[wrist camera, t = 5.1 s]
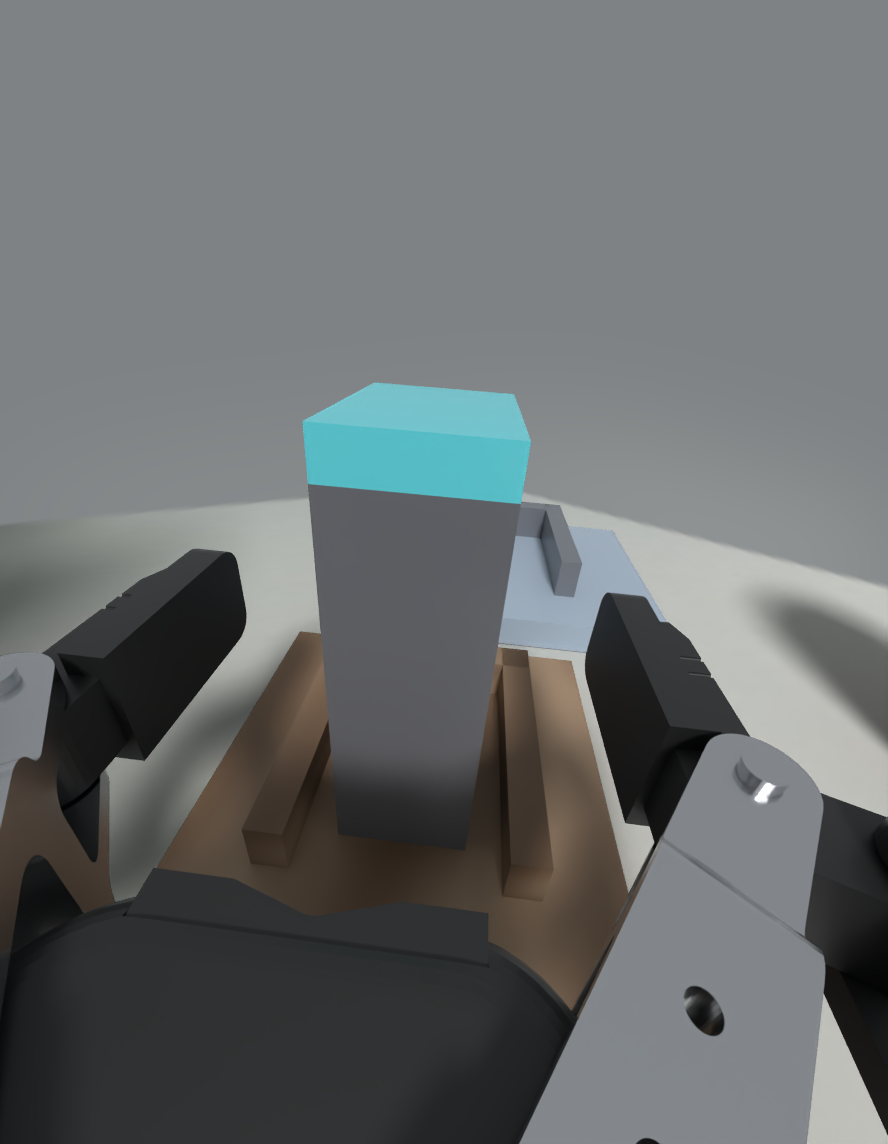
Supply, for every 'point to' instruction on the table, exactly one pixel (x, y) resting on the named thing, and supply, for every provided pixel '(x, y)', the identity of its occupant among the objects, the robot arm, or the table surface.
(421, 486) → the plug
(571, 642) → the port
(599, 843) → the brown base with rails
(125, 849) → the table surface
